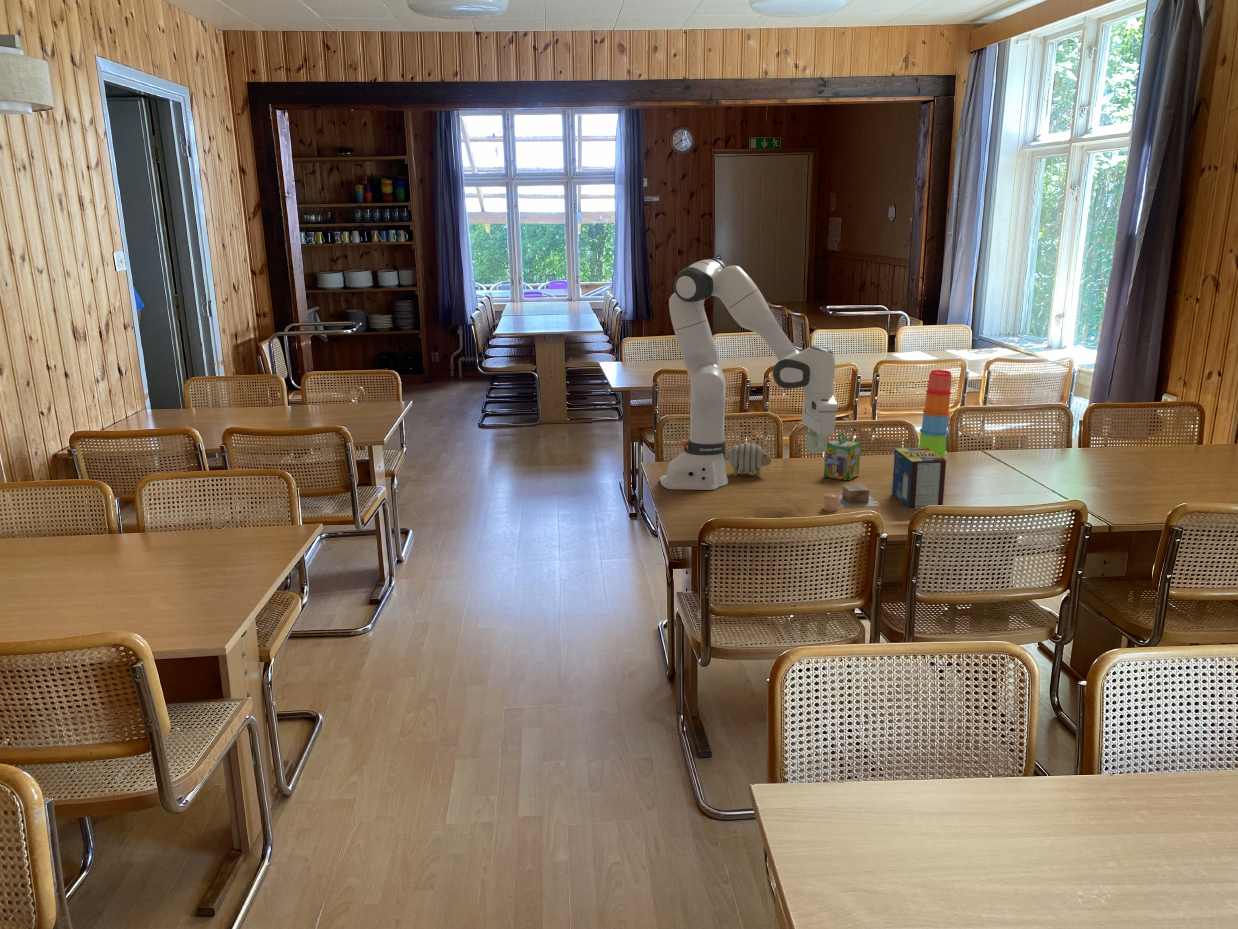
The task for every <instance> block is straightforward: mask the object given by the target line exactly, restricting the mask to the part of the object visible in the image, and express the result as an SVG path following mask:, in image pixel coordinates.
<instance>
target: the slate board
mask: <svg viewBox="0 0 1238 929" xmlns="http://www.w3.org/2000/svg"><path fill="white" fill-rule="evenodd" d="M838 495H839V506H840V507H842V508H857V507H858V508H859V507H879V505H878V504H874V503H879V502H878V501H877V500H876V501H873V500H871V499H874V498H873V497H872V496H870V495H869V503H855V504H849V503H848V502H846V501H845V500H844V499H843V498H842V494H838Z"/></svg>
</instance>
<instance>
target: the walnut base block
mask: <svg viewBox="0 0 1238 929" xmlns="http://www.w3.org/2000/svg"><path fill="white" fill-rule="evenodd" d="M841 495H842V498H843V499H844V500H845V501H846V502H848V503H849V504H855V503H869V496H870V489H868V488H867V487H866V486H864V485H863V484H846V485H845V484H843V485H842V494H841Z"/></svg>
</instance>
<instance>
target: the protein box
mask: <svg viewBox="0 0 1238 929" xmlns="http://www.w3.org/2000/svg"><path fill="white" fill-rule="evenodd" d="M893 457H894V458H893V459H894V460H893V472H892V488H891V489H892V490H891V495H892V494H893V495H894V497H895V499H896V500H898V499H899V500H900V501H901V502H902V503H903V504H902V503H901V502H900V501H899V500H898V501H899V502H900V503H901V504H902V505H903V506H905V507H906V508H907V507H908V508H915V509H916V510H918V509H919V508H921V507H925V506H928V505H943V506H944V496H945V495H944V494H945V483H946V482H945V481H946V468H947V459H946V458H945V457H944V458H942V457H941V456H939V455H938V454H936V453H935V452H933V451H932V450H930V449H929V448H918V447H907V448H905V447H903V448H901V447H900V448H898V447H896V448H894V455H893ZM893 495H892V496H893ZM908 508H907V509H908ZM915 509H914V510H915ZM919 510H920V509H919Z"/></svg>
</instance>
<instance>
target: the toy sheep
mask: <svg viewBox="0 0 1238 929" xmlns="http://www.w3.org/2000/svg"><path fill="white" fill-rule="evenodd" d="M724 460H728V464H729V465H730V466H731V467H733V476H734V477H738V474H739V473H740V474H743V473H744V474H745V475H749V474H750V473H751V474H755V473H756V477H757V478H761V468H762V466H763V467H765V466H766V467H767V466H769V465H771V462H772V458H771V456H770V455H769V453H767V452H766V451H765V450H762V446H761V445H758V444H757V445H756V444H755V443H751V444H750V442H746V443H745V444H744V443H740V444H739V445H737V444H735V445H733V448H731V449H730V451H729V452H728V455H727V454H725V457H724Z"/></svg>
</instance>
